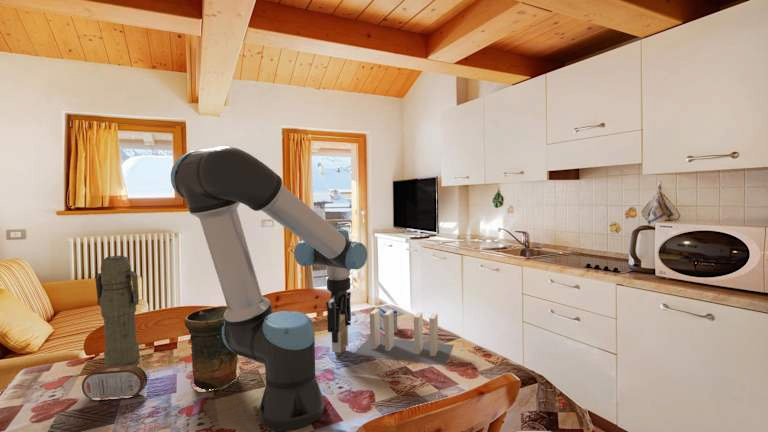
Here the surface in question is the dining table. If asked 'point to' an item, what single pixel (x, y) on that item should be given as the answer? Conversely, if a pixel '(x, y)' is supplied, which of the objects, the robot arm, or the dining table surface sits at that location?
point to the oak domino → (342, 334)
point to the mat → (406, 351)
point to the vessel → (210, 349)
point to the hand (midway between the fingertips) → (340, 348)
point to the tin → (114, 382)
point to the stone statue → (118, 310)
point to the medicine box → (382, 311)
